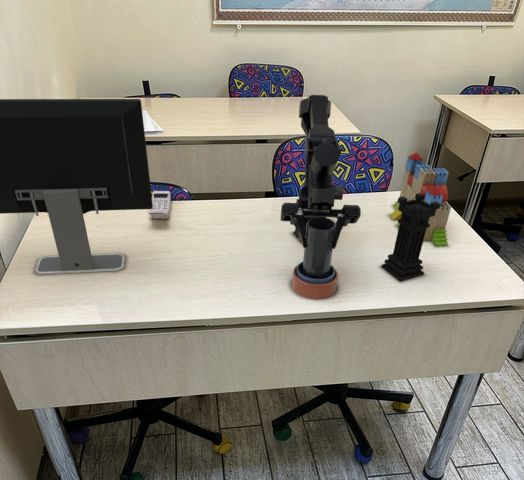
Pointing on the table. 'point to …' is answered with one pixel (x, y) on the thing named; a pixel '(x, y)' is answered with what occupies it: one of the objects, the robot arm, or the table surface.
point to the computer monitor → (73, 170)
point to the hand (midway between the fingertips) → (319, 248)
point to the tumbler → (319, 246)
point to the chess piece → (410, 237)
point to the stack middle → (305, 278)
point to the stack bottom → (314, 287)
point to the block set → (426, 195)
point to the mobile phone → (160, 205)
